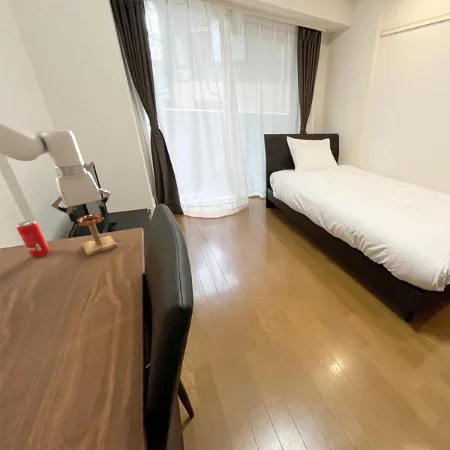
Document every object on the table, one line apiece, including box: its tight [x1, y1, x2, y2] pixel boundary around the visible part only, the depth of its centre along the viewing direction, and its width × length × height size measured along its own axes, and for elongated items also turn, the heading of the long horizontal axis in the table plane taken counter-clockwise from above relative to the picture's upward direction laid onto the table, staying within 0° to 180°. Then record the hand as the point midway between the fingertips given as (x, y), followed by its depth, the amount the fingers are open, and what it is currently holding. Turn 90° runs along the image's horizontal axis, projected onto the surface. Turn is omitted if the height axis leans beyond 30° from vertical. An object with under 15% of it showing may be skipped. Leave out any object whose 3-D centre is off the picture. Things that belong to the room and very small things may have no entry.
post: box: [81, 219, 118, 256], centre depth 98 cm, size 9×9×10 cm
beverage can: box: [16, 220, 50, 258], centre depth 93 cm, size 5×5×12 cm
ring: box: [76, 213, 105, 227], centre depth 95 cm, size 8×8×1 cm
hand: (90, 219), depth 95 cm, fingers closed on ring, 7 cm apart
